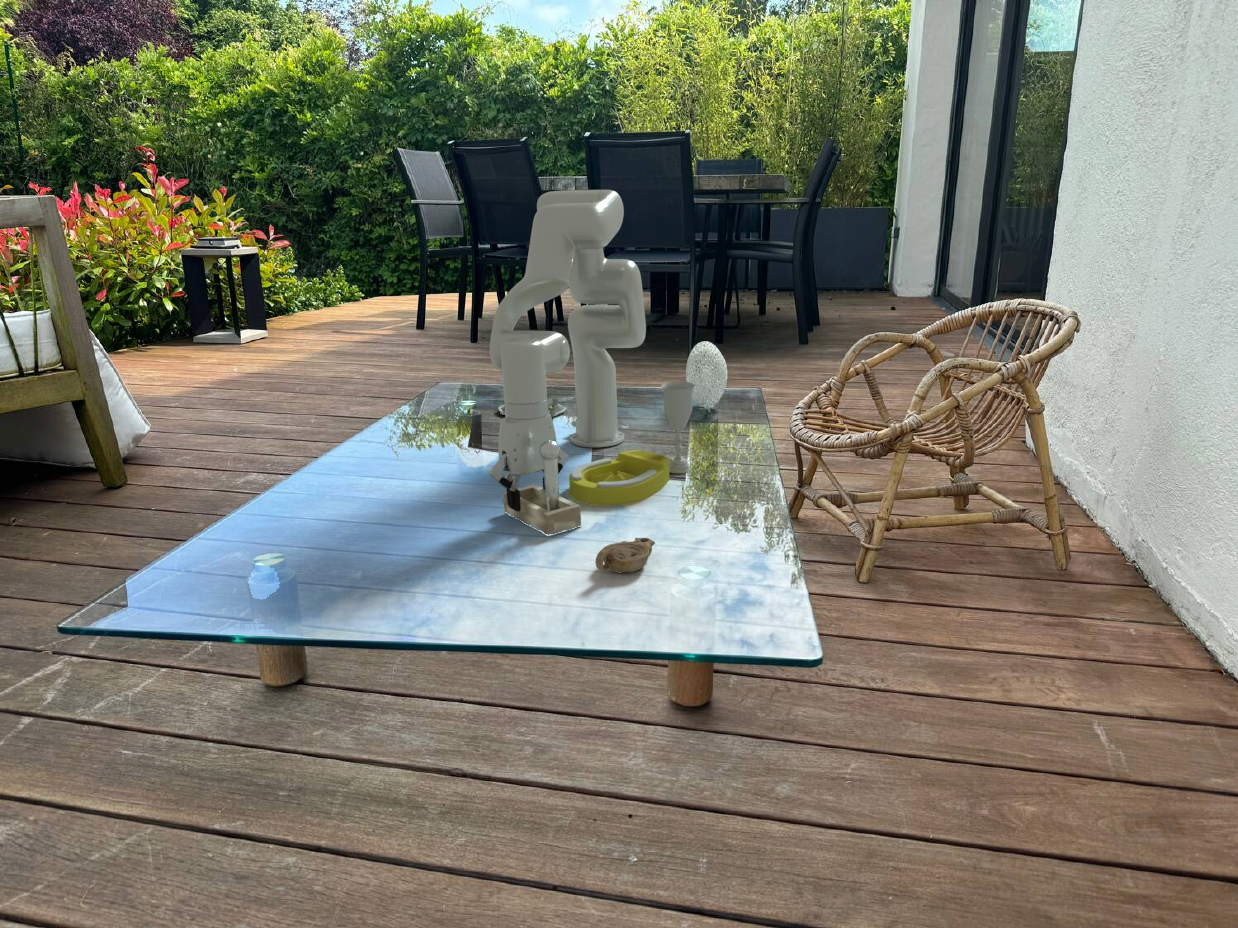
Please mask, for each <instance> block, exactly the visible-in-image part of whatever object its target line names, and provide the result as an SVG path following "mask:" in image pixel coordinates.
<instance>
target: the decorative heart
mask: <svg viewBox="0 0 1238 928" xmlns="http://www.w3.org/2000/svg"><path fill="white" fill-rule="evenodd" d="M685 367H686V368H685V380H686V381H685V382H690V383H693V384H694V385H695V386H694V388H693V391H692V401H693V402H695V403H696V404H697V405H698V406H699V407H700V408H702V407H707V408H706V410H707V409H708V413H709V412H710V413H711V408H712V407H714V406H715V405H716V404H717V403H719V401H720V400H721V398H722V397H723V395H724V393H725V390H726V387H727V384H728V383H727V382H728V368H727V363H726V359H725V357H724V355H722V353H721V351H720V350H719V349H718V347H717V346H716V345H715V344H713V343H712V342H710V341H705V340H704V341H701V342H698V343H697V344H695V346H693V348H692V349H691V350H690V353H689V355H688V358H687V361H686V366H685ZM705 404H706V406H705ZM708 407H709V408H708Z"/></svg>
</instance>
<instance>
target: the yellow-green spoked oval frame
mask: <svg viewBox="0 0 1238 928" xmlns="http://www.w3.org/2000/svg"><path fill="white" fill-rule="evenodd" d="M669 463H670V458H669V457H667V456H665V455H662V454H659V453H658V454H657V453H653V452H651V451H650V452H649V451H644V450H639V449H633V450H632V449H631V450H628V451H627V450H625V451H620V452H618V453H617V458H614V459H611V458H609V457H607V458H602V459H597V460H594V461H590V462H586V463H583V464H581V465H578V466H576V467H575V468H574V469H572V472H571V473H570V474H569V476H568V477H569V478H568V480H569V495H570V497H571V498H572V497H573V498H572V499H573V500H576V501H577V502H579V501H580V502H579V503H582V502H583V504H586V503H587V504H586V505H591V506H599V507H601V506H602V507H614V506H616V507H617V506H626V505H632V504H635V503H639V502H641V501H644V500H646V499H648V498H650V497H653V495H655V494H657V493H658V492H660V491H661V490H662V489H663V488H664V487H665V486H667V484H668V483H669V481H670V472H669Z"/></svg>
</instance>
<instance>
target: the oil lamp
mask: <svg viewBox="0 0 1238 928" xmlns="http://www.w3.org/2000/svg"><path fill="white" fill-rule="evenodd" d="M655 544H656V541H654V540H652V539H651V538H649V537H635V538H634V541H626V540H622V541H621V542H616V543H615V542H614V543H610V544H608V545H605V546H604V547H602V549H600V550H599V551H598V553H597V555H596V557H595V567H596V569H598V570H599V571H601V572H608V571H609V570H610V571H611V570H612V572H613V571H617V572H630V573H633V572H632V571H634V572H636V570H637V571H640V570H641V569H643V567H644V566H645V565H646V564H647V562H648V559H649V558H650V556H651V554H652V552H653V546H654V545H655ZM617 572H616V573H617Z"/></svg>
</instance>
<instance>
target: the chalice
mask: <svg viewBox="0 0 1238 928" xmlns="http://www.w3.org/2000/svg"><path fill="white" fill-rule="evenodd" d="M660 386H661V388H662V390H663V410H664V413H665V416H666V419H667V421H668V422H669V426H670V427H671V429H673V430H675V433H676V434H675V438H674V440H675V446H674V449H675V451H676V453H675V456H674V457H672V458H671V459H670V460H669V473H672V474H686V473H689V472H691V467H690V464H689V463H688V460H687V458H685V457H683V456H682V454H681V452H682V449H683V447H684V446H682V440H683V437H682V434H681V433H682V430H683V429H685V428H686V426H687V424H688V422H689V420H690V418H691V415H692V411H693V398H692V393H693V388H694V386H695V385H694V384H693V383H690V382H687V381H669V382H665V383H663V384H661V385H660Z"/></svg>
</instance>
